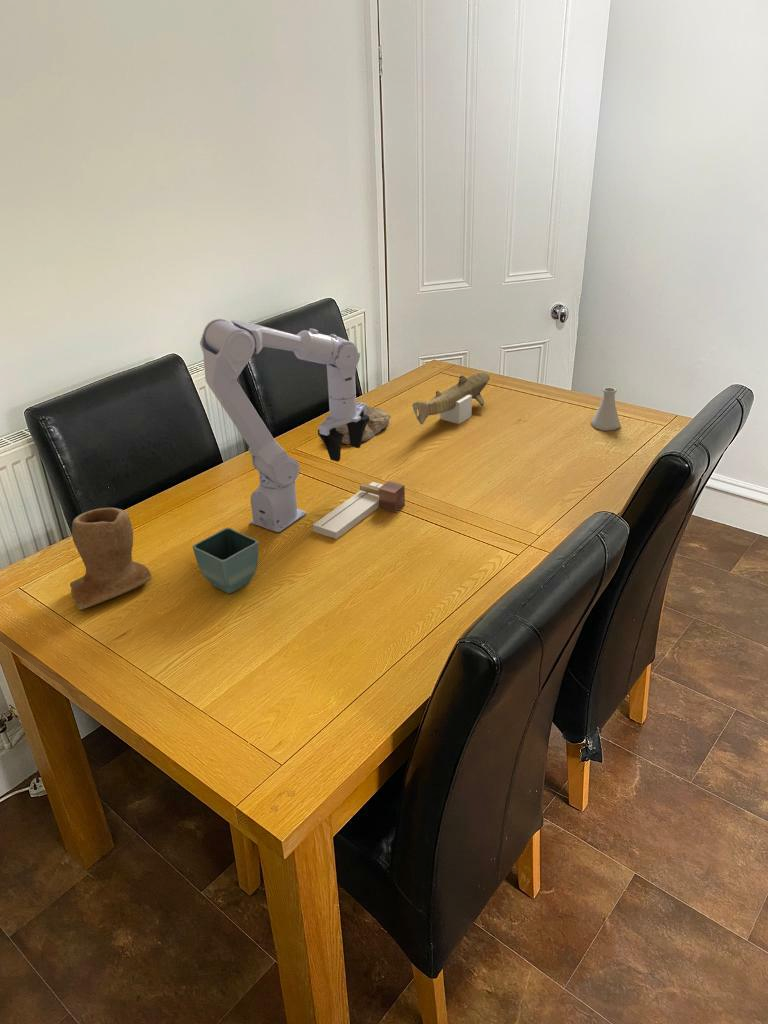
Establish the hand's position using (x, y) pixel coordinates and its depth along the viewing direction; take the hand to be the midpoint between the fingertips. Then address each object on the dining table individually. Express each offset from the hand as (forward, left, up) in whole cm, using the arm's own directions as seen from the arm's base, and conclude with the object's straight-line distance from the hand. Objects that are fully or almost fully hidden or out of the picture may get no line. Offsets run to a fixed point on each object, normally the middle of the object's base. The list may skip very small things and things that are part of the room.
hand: (345, 453), depth 176 cm
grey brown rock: (+28, +18, -10) cm, 35 cm away
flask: (+64, -36, -10) cm, 74 cm away
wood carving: (+47, 0, -10) cm, 48 cm away
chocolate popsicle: (0, -9, -10) cm, 13 cm away
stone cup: (-53, +17, -10) cm, 57 cm away
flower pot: (-40, -2, -10) cm, 41 cm away
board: (-6, -7, -10) cm, 13 cm away
